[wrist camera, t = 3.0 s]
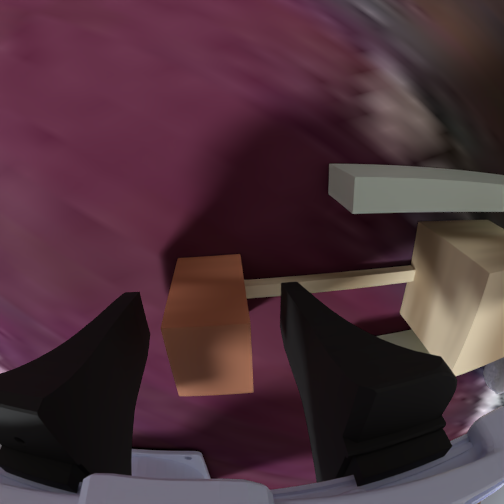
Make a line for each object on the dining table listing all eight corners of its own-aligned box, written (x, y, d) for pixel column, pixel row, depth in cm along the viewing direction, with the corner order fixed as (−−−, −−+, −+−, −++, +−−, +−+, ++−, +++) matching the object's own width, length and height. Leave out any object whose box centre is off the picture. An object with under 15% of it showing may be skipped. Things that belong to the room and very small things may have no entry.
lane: (313, 362, 16) (340, 439, 11) (329, 163, 11) (394, 199, 7) (499, 320, 17) (539, 362, 12) (537, 180, 12) (596, 208, 8)
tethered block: (190, 335, 14) (183, 423, 10) (174, 234, 12) (150, 309, 8) (466, 300, 15) (516, 351, 11) (487, 219, 13) (553, 260, 9)
